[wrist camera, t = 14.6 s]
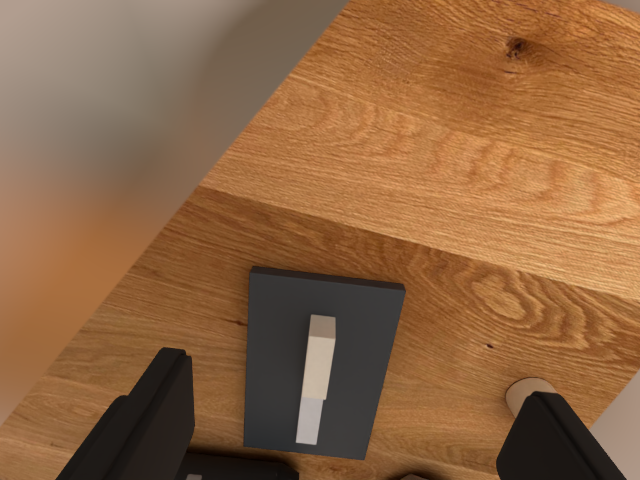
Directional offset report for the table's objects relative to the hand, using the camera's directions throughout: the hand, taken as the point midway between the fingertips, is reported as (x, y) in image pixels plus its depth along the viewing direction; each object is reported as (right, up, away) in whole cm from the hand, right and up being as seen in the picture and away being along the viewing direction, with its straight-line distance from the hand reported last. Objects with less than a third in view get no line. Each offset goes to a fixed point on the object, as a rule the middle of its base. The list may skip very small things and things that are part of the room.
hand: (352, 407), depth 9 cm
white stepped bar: (-2, -12, +30) cm, 32 cm away
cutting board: (-1, -11, +31) cm, 33 cm away
